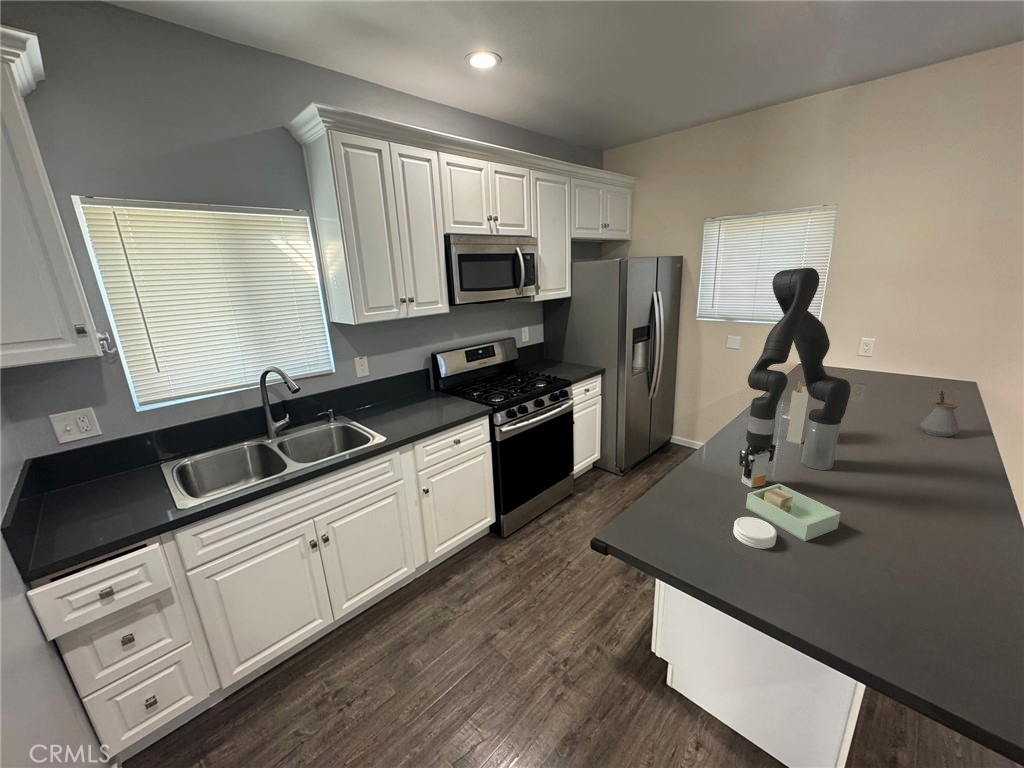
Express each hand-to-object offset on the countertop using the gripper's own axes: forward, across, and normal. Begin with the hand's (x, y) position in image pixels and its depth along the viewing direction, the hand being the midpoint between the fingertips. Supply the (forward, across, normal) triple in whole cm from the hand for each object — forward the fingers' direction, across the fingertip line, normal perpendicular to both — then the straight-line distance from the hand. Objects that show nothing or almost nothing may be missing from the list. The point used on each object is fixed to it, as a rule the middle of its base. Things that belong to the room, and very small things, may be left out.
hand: (754, 475), depth 136 cm
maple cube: (+3, +8, +14) cm, 16 cm away
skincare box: (+3, 0, 0) cm, 3 cm away
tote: (+3, +8, +18) cm, 20 cm away
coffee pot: (+3, -108, +1) cm, 108 cm away
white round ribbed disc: (+4, +25, +20) cm, 32 cm away
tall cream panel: (+4, -49, -18) cm, 53 cm away
